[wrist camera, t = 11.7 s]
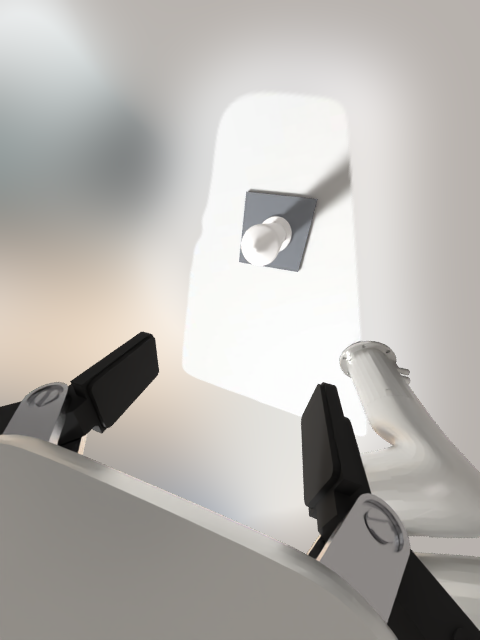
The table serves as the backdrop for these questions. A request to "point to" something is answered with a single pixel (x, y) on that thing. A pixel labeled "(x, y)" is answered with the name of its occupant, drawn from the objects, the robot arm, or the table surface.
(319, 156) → the table surface
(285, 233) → the candle
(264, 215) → the mat
